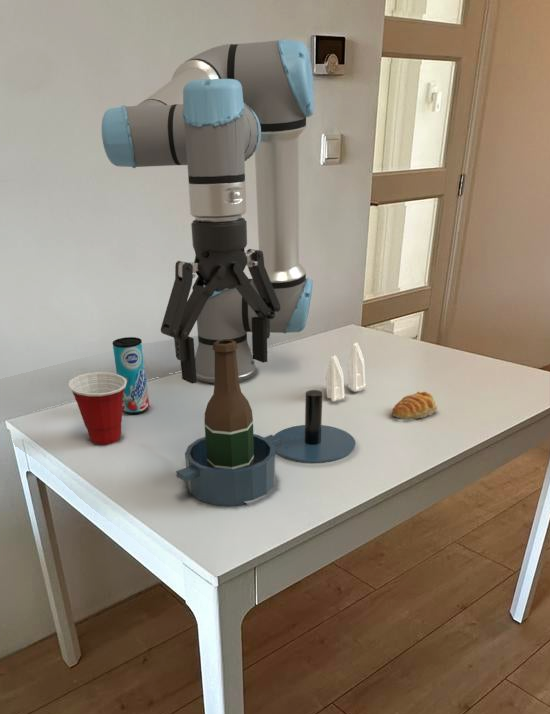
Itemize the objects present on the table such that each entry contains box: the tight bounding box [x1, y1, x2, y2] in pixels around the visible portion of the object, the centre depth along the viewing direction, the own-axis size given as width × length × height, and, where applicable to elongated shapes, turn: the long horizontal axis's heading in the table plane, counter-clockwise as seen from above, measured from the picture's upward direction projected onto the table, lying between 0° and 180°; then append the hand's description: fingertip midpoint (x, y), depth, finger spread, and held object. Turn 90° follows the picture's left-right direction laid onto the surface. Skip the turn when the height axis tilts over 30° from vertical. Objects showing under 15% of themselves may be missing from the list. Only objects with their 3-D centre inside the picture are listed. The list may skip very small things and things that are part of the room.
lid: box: [273, 389, 356, 464], centre depth 115 cm, size 16×16×11 cm
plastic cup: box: [67, 371, 127, 446], centre depth 121 cm, size 11×11×12 cm
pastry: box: [392, 391, 438, 420], centre depth 128 cm, size 9×7×4 cm
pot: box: [175, 433, 280, 507], centre depth 105 cm, size 15×20×6 cm
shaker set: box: [325, 342, 367, 402], centre depth 137 cm, size 12×4×11 cm, turn 129°
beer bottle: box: [204, 339, 254, 469], centre depth 100 cm, size 8×8×24 cm
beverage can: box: [112, 336, 150, 415], centre depth 132 cm, size 6×6×15 cm
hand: (226, 370), depth 96 cm, fingers open, 13 cm apart
